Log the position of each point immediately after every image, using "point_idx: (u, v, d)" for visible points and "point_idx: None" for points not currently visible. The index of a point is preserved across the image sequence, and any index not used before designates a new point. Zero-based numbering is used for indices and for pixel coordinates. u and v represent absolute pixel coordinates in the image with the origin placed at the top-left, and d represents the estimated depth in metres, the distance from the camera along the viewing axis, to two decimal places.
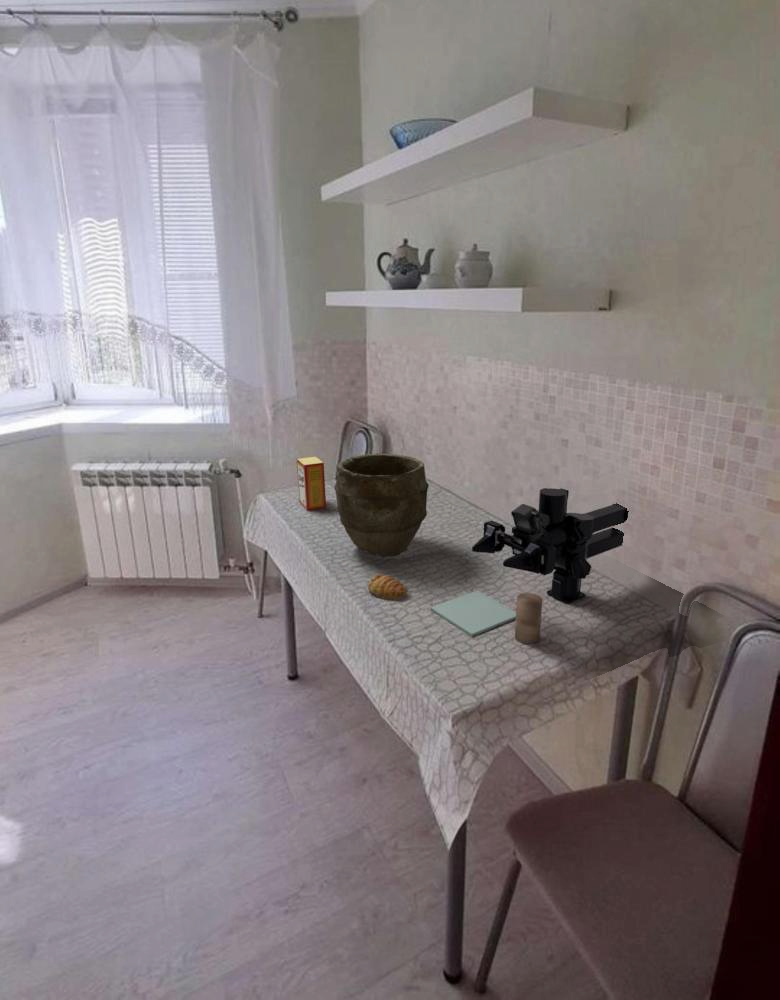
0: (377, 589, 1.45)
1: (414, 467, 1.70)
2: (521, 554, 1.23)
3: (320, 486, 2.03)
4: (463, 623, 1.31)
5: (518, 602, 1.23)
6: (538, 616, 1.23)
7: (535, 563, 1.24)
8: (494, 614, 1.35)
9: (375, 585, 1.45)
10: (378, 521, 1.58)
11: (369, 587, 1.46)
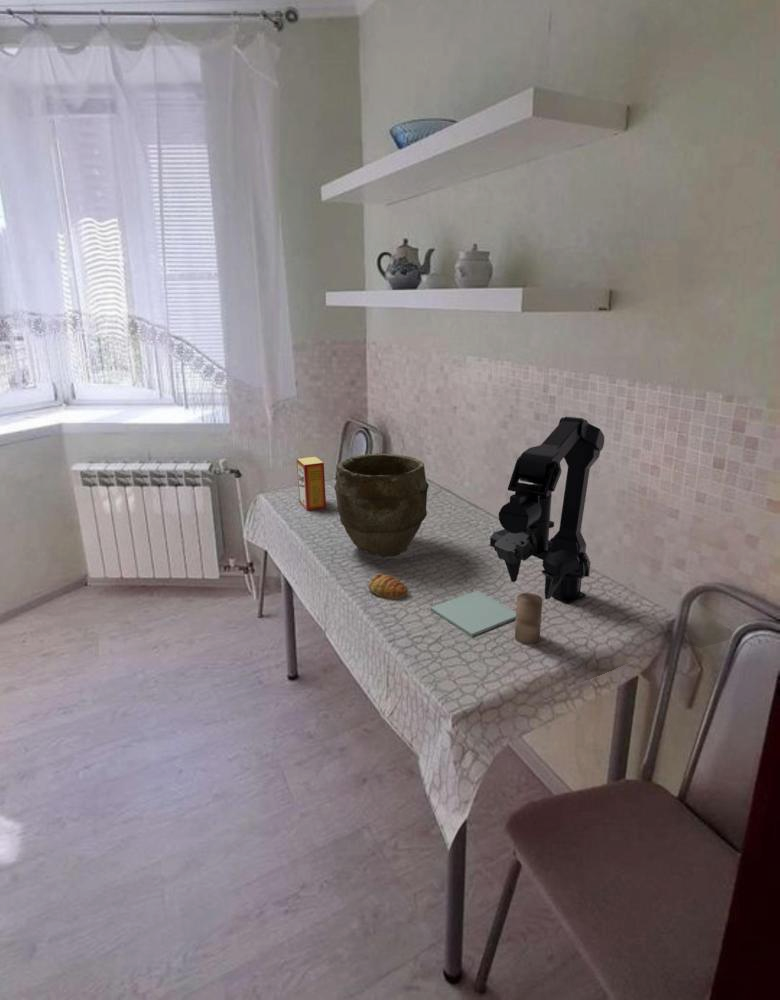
0: (377, 588, 1.45)
1: (414, 467, 1.70)
2: (547, 583, 1.17)
3: (320, 486, 2.03)
4: (463, 623, 1.31)
5: (518, 602, 1.23)
6: (538, 616, 1.23)
7: None
8: (494, 614, 1.35)
9: (376, 584, 1.46)
10: (378, 521, 1.58)
11: (370, 586, 1.47)
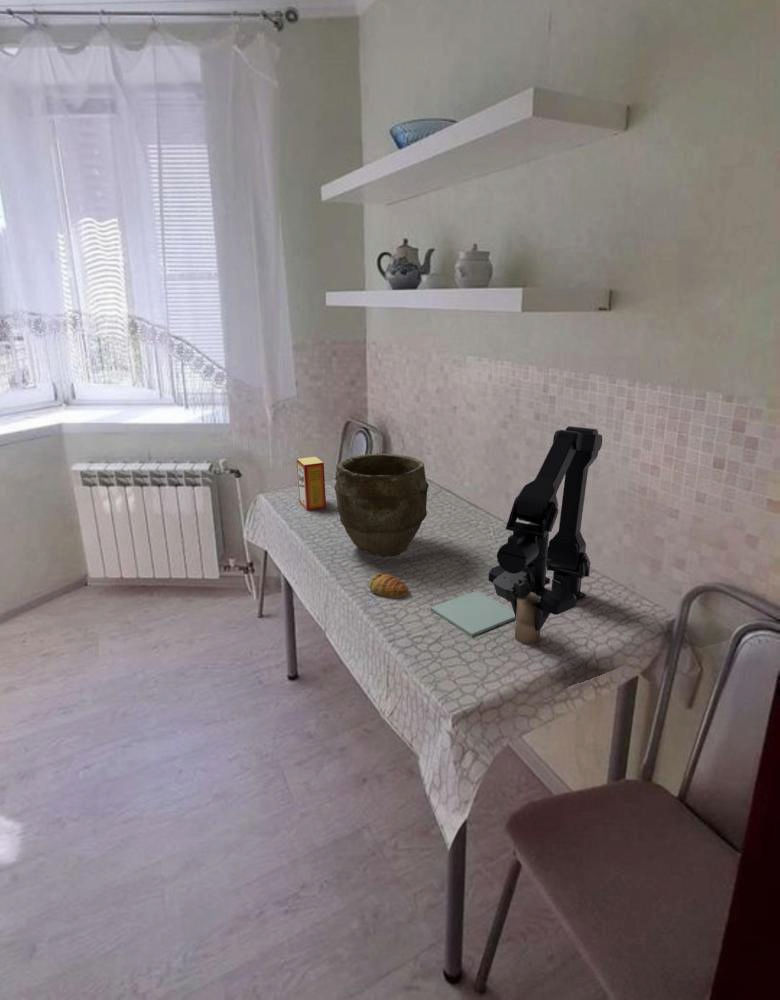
0: (378, 587, 1.45)
1: (414, 467, 1.70)
2: (537, 616, 1.21)
3: (320, 486, 2.03)
4: (463, 623, 1.31)
5: (518, 602, 1.23)
6: None
7: None
8: (494, 614, 1.35)
9: (376, 584, 1.46)
10: (378, 521, 1.58)
11: (370, 586, 1.47)
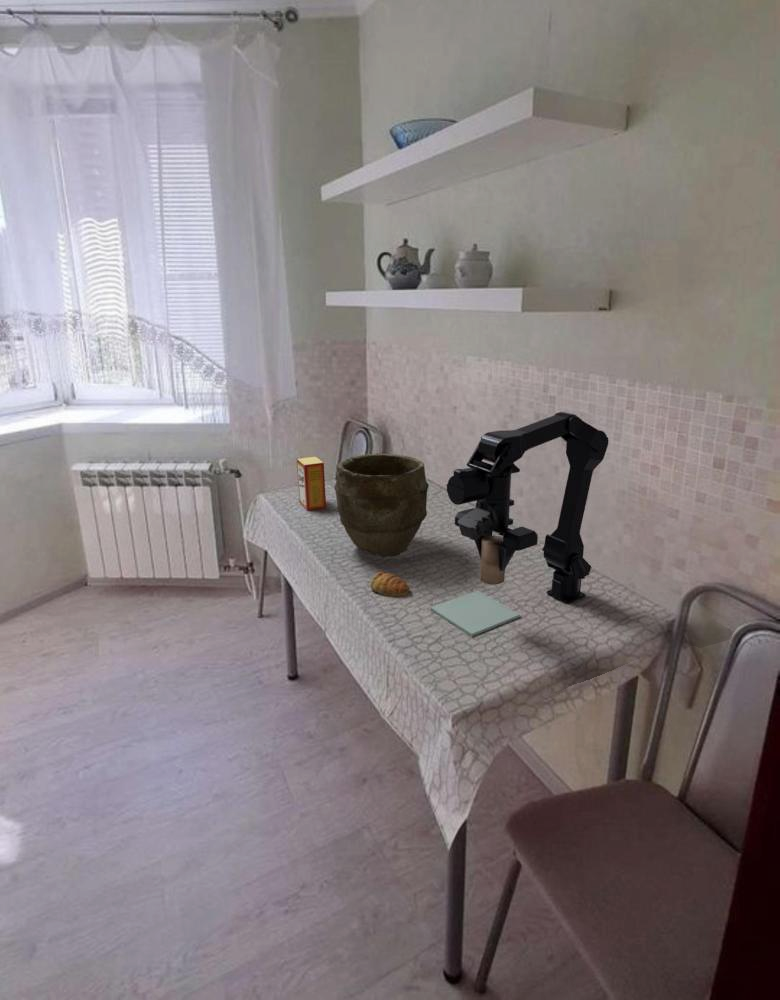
0: (380, 586, 1.46)
1: (414, 467, 1.70)
2: (501, 555, 1.25)
3: (320, 486, 2.03)
4: (463, 623, 1.31)
5: (483, 543, 1.27)
6: None
7: None
8: (494, 614, 1.35)
9: (378, 583, 1.46)
10: (378, 521, 1.58)
11: (371, 585, 1.47)
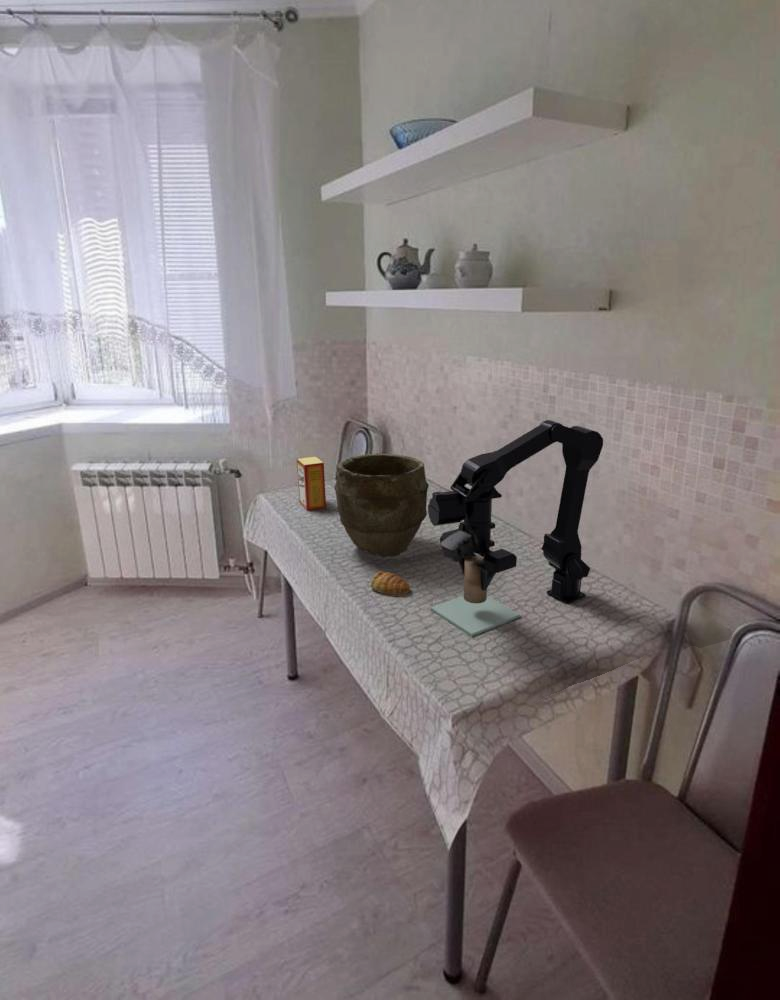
0: (380, 585, 1.46)
1: (414, 467, 1.70)
2: (482, 576, 1.30)
3: (320, 486, 2.03)
4: (463, 623, 1.31)
5: (465, 564, 1.32)
6: None
7: None
8: (494, 614, 1.35)
9: (378, 582, 1.47)
10: (378, 521, 1.58)
11: (372, 584, 1.48)
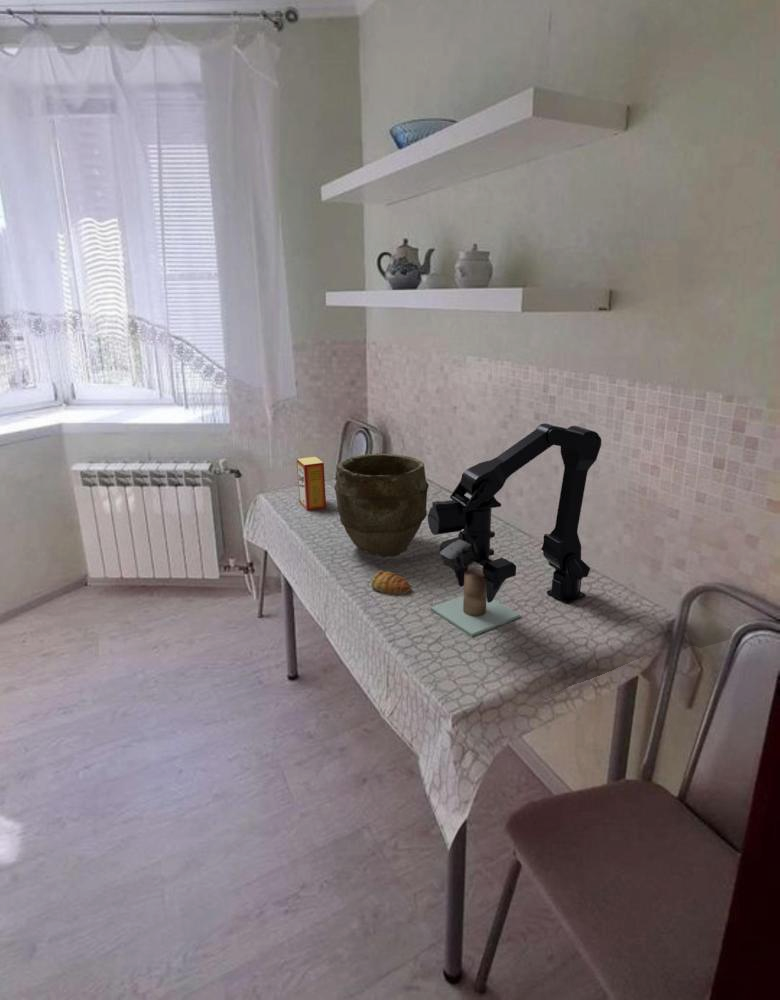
0: (381, 585, 1.47)
1: (414, 467, 1.70)
2: (488, 588, 1.29)
3: (320, 486, 2.03)
4: (463, 623, 1.31)
5: (465, 577, 1.33)
6: (483, 590, 1.33)
7: None
8: (494, 614, 1.35)
9: (379, 581, 1.47)
10: (378, 521, 1.58)
11: (373, 584, 1.48)
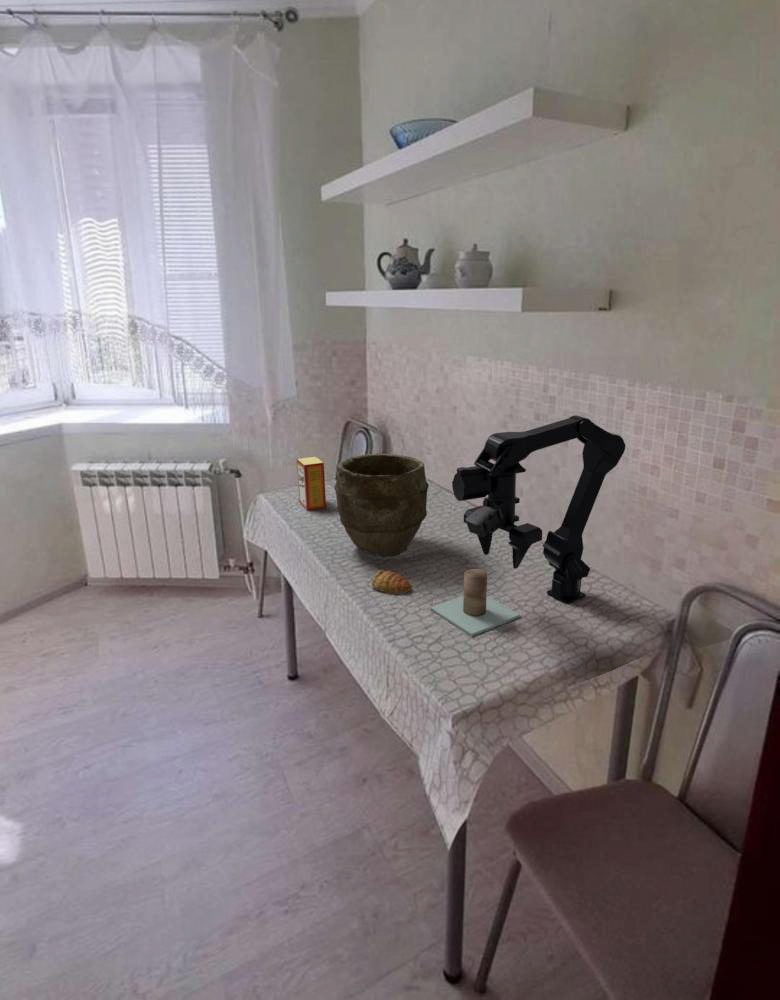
0: (382, 584, 1.47)
1: (414, 467, 1.70)
2: (514, 553, 1.29)
3: (320, 486, 2.03)
4: (463, 623, 1.31)
5: (465, 577, 1.33)
6: (483, 590, 1.33)
7: None
8: (494, 614, 1.35)
9: (380, 581, 1.47)
10: (378, 521, 1.58)
11: (373, 583, 1.48)
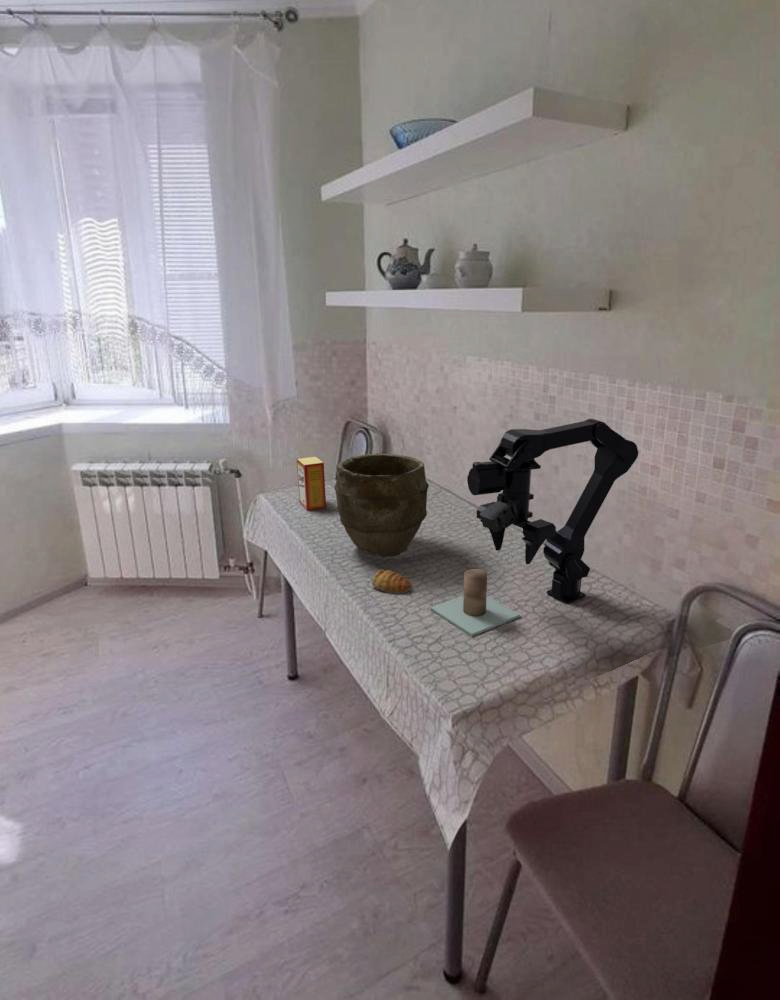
0: (382, 583, 1.47)
1: (414, 467, 1.70)
2: (527, 549, 1.30)
3: (320, 486, 2.03)
4: (463, 623, 1.31)
5: (465, 577, 1.33)
6: (483, 590, 1.33)
7: None
8: (494, 614, 1.35)
9: (380, 580, 1.48)
10: (378, 521, 1.58)
11: (374, 583, 1.48)
